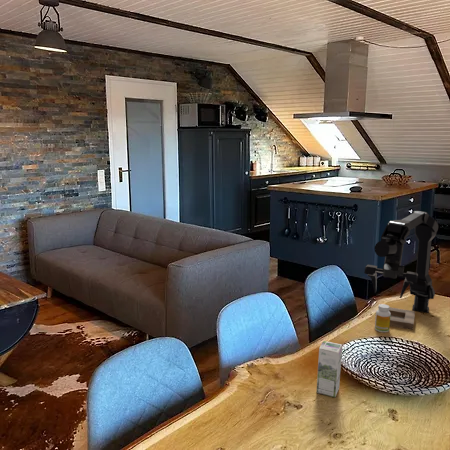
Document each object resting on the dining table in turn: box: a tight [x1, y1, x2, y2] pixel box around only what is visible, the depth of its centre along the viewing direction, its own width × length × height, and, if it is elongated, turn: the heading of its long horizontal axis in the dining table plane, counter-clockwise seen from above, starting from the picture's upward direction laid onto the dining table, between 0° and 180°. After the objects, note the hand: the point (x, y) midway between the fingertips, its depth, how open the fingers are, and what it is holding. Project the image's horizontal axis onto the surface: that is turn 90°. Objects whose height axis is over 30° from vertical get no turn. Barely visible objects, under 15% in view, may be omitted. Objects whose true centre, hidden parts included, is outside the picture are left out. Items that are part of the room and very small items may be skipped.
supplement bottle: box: [374, 303, 391, 333], centre depth 180 cm, size 5×5×10 cm
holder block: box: [377, 306, 416, 331], centre depth 190 cm, size 14×14×2 cm
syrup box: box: [315, 340, 343, 398], centre depth 137 cm, size 6×6×14 cm
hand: (387, 295), depth 178 cm, fingers open, 9 cm apart
